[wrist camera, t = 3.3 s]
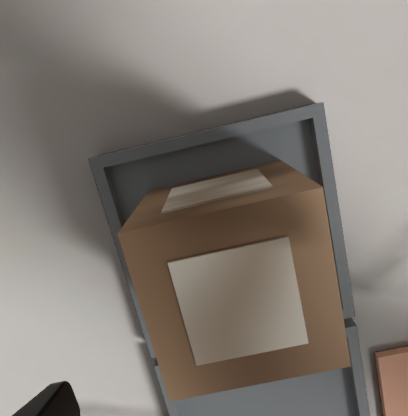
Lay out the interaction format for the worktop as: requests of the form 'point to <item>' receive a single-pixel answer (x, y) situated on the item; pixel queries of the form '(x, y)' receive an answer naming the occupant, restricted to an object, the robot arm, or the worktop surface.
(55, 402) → the robot arm
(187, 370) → the cardboard box
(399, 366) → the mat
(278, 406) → the tray
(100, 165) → the tray
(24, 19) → the worktop surface
